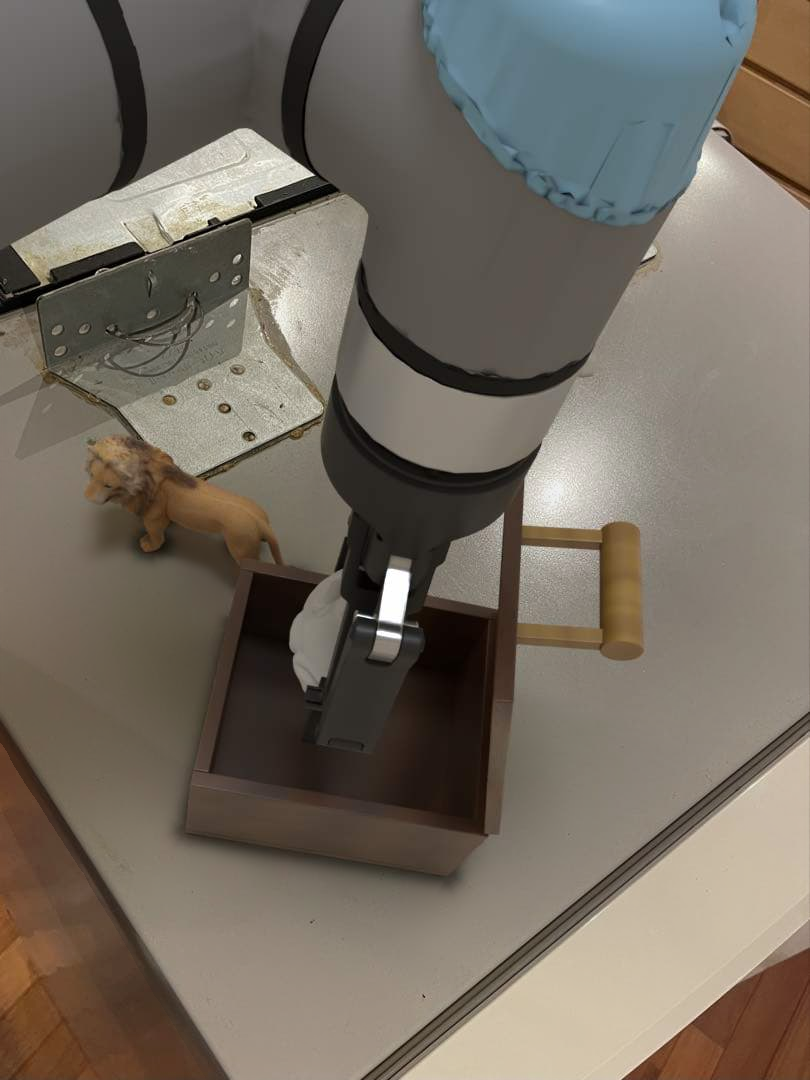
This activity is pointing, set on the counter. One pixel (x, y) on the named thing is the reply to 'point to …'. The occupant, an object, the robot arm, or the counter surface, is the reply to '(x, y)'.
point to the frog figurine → (317, 631)
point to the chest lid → (612, 638)
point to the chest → (335, 774)
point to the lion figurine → (173, 497)
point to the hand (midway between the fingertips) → (339, 671)
